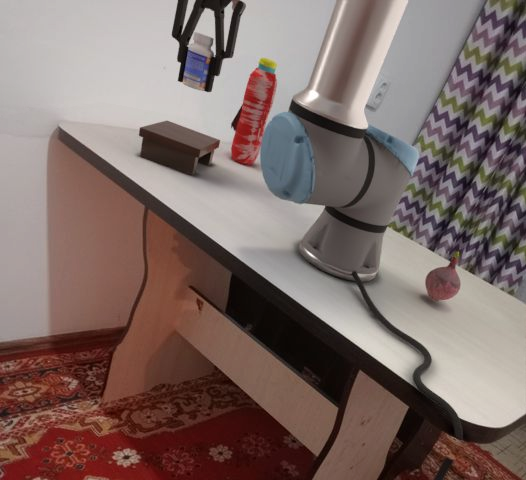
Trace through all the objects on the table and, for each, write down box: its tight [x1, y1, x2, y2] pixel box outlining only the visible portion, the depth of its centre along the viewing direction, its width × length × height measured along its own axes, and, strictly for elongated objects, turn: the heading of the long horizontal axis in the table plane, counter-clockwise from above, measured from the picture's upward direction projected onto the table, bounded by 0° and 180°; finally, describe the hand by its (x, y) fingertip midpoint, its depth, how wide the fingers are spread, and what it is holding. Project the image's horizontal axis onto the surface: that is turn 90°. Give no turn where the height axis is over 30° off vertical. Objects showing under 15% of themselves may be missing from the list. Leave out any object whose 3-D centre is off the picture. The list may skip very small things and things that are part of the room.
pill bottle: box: [182, 31, 215, 92], centre depth 97 cm, size 5×5×10 cm
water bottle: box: [230, 57, 278, 166], centre depth 121 cm, size 12×8×25 cm, turn 39°
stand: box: [138, 120, 221, 176], centre depth 108 cm, size 16×14×6 cm
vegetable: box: [424, 251, 462, 302], centre depth 82 cm, size 6×6×10 cm
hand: (194, 86), depth 99 cm, fingers closed on pill bottle, 5 cm apart
